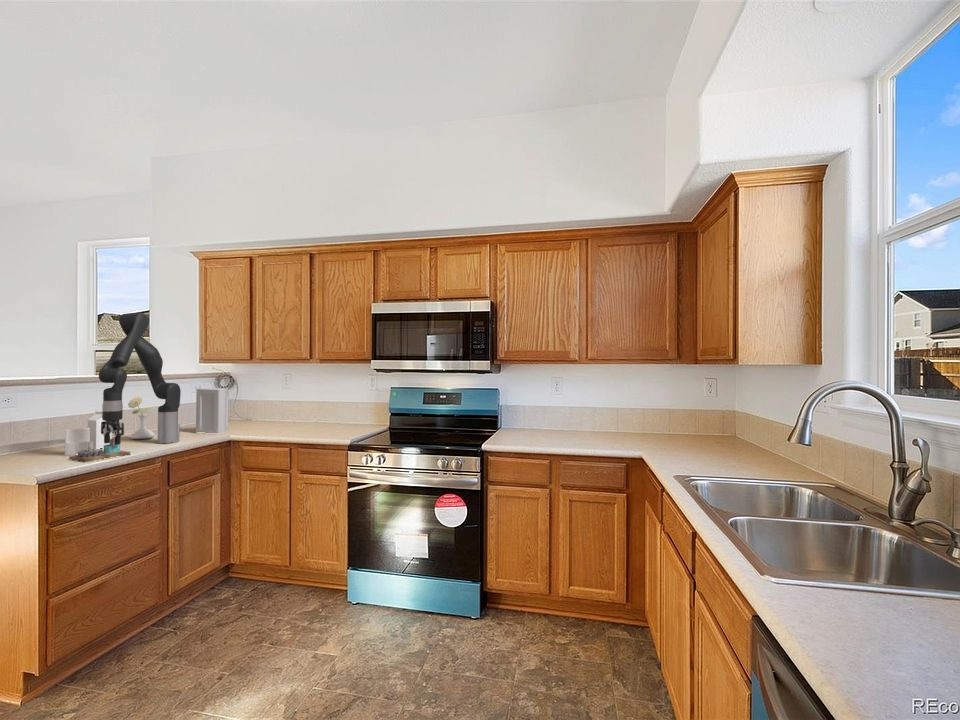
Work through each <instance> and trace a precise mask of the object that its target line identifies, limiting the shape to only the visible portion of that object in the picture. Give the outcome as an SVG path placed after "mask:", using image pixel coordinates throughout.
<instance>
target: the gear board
mask: <svg viewBox="0 0 960 720" xmlns="http://www.w3.org/2000/svg"><path fill="white" fill-rule="evenodd" d="M112 445H114V438H112V439H110V444H109V446H112ZM103 450H104V449H96V450H93V442H92V441H90V442H88V450H85V451H80V452H78V455H70V456H68V457H69V458H68V460H69V459H72V460H71V461H75V460H77V461H76V462H80V461H82V463H90V462H95V461H94V460H96V461H100V460H99V459H102V460H105V459H104V458H109V459H111V458H110V457H115V458H117V457H116V456H121V457H126V456H125V455H127V456H131V451H126V450H121V449H120V452H118V453H110V454H105V453H103ZM89 461H90V462H89Z"/></svg>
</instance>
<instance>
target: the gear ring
mask: <svg viewBox="0 0 960 720" xmlns="http://www.w3.org/2000/svg"><path fill="white" fill-rule="evenodd" d="M102 450H103V453H105V454H110V453H118V452H120V450H121V443H120V444H119V445H115V444H114V445H112V446H109V444H108V445H104V449H102Z"/></svg>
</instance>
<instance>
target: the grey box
mask: <svg viewBox="0 0 960 720" xmlns="http://www.w3.org/2000/svg"><path fill="white" fill-rule="evenodd" d="M229 390H230V389H229V388H228V387H227V388H226V387H225V388H224V387H220V388H217V387H216V388H215V387H214V388H196V395H195V396H196V401H195V402H196V404H195V406H196V407H195V410H196V411H195V433H196V432H205V433H222V432H225V431H226V430H227V429H228V430H229V408H230V407H229V398H230V397H229V395H230V393H229V392H230V391H229Z"/></svg>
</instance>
